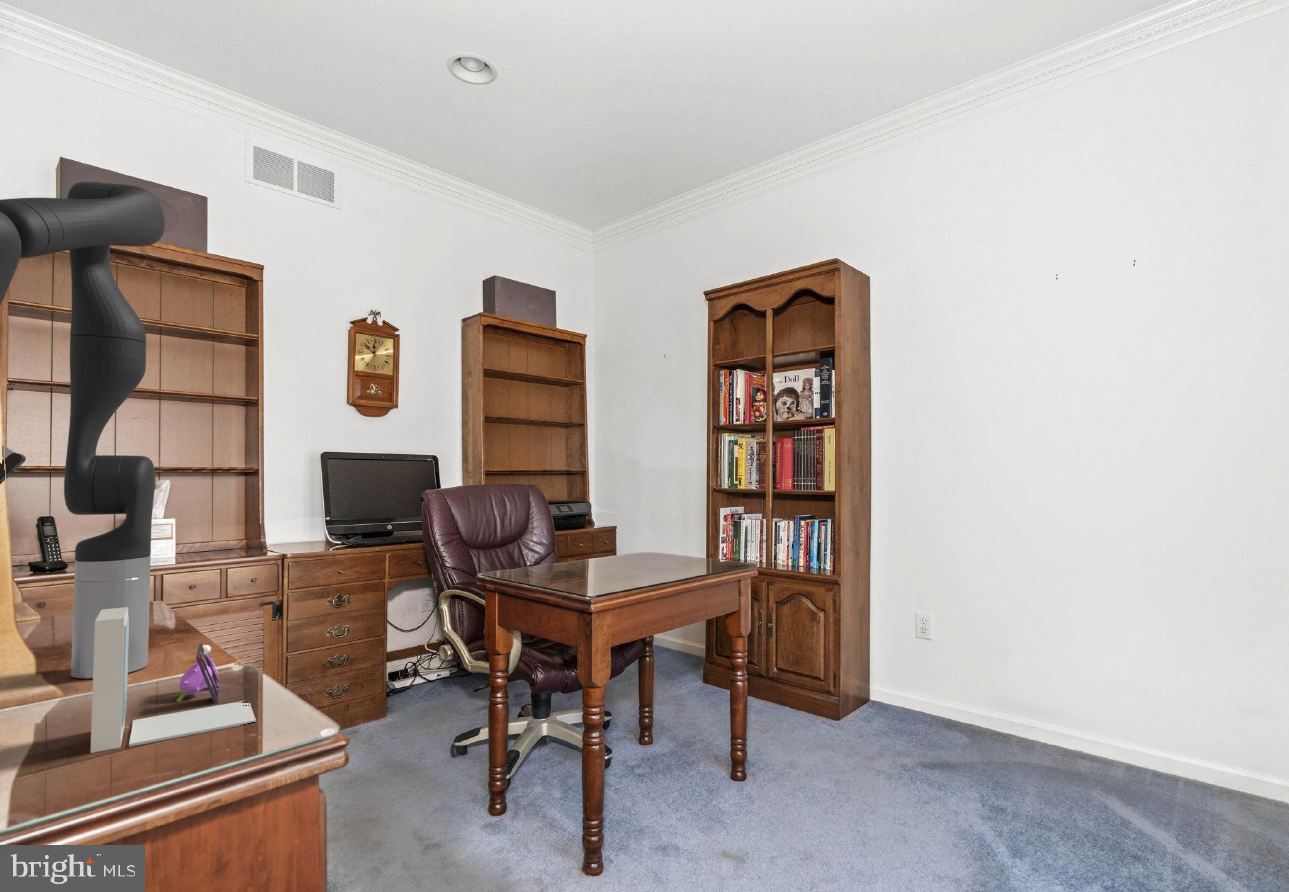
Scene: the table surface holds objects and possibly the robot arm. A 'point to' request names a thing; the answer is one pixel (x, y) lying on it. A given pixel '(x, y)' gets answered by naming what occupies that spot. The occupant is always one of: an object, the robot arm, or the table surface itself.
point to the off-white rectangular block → (109, 679)
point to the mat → (190, 722)
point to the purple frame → (200, 676)
